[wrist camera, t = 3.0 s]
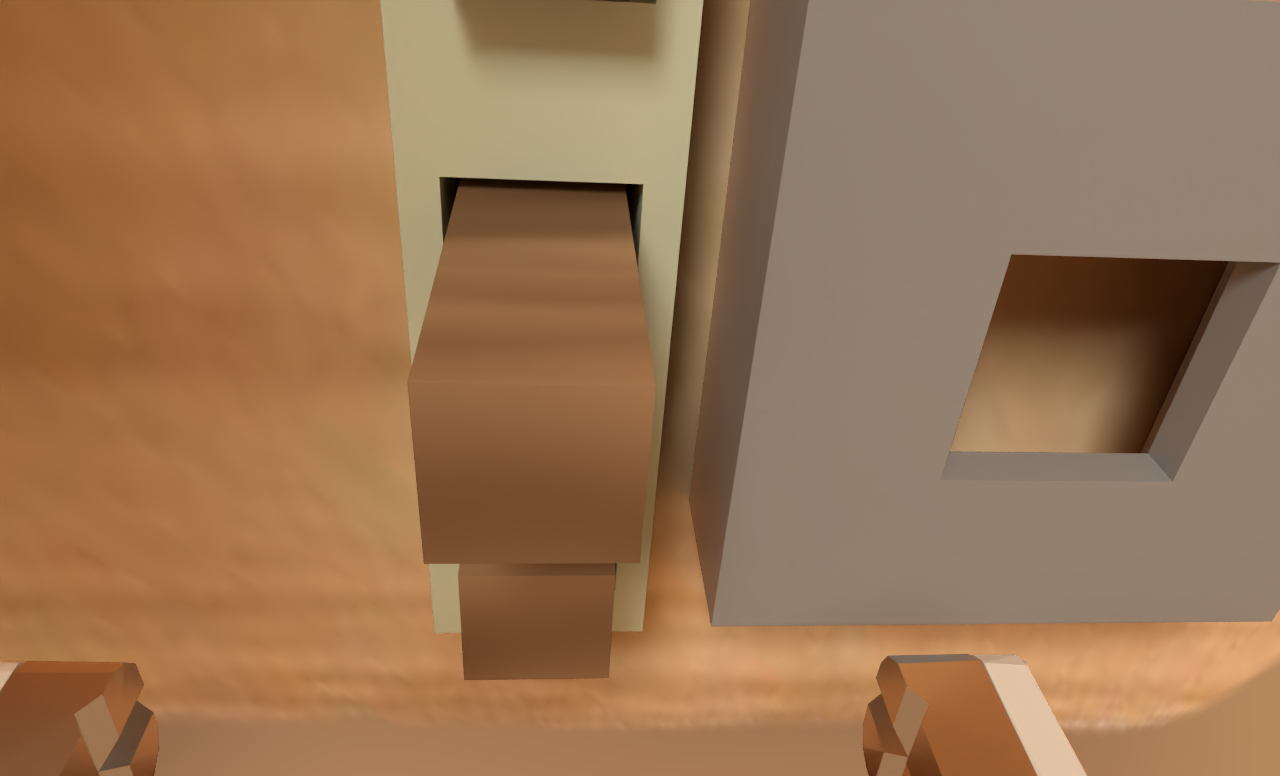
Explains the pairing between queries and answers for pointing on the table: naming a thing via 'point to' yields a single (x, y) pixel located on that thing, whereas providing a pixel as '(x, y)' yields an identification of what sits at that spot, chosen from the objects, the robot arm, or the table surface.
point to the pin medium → (536, 620)
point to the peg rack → (546, 154)
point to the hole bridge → (986, 312)
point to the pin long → (533, 380)
